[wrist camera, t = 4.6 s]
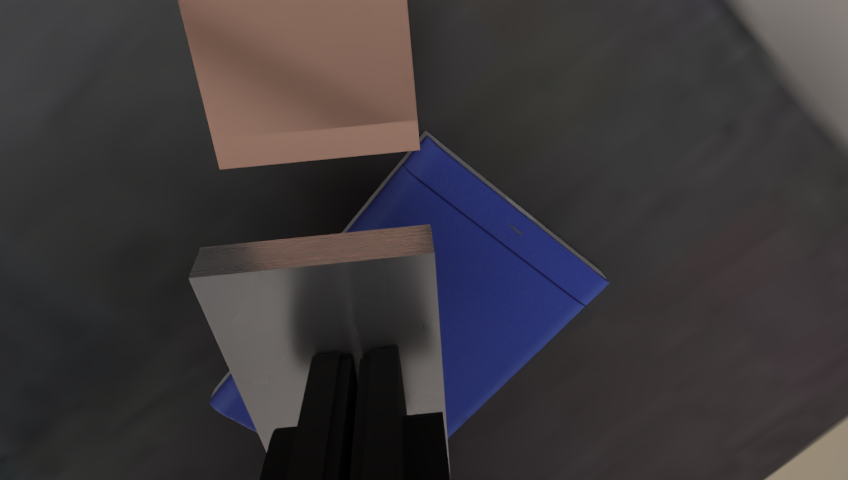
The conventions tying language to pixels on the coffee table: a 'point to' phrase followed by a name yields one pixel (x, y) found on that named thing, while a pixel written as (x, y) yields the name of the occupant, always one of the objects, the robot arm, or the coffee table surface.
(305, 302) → the grey long flat bar
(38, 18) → the coffee table surface
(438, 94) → the coffee table surface
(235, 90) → the block
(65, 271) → the coffee table surface
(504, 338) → the hard drive
